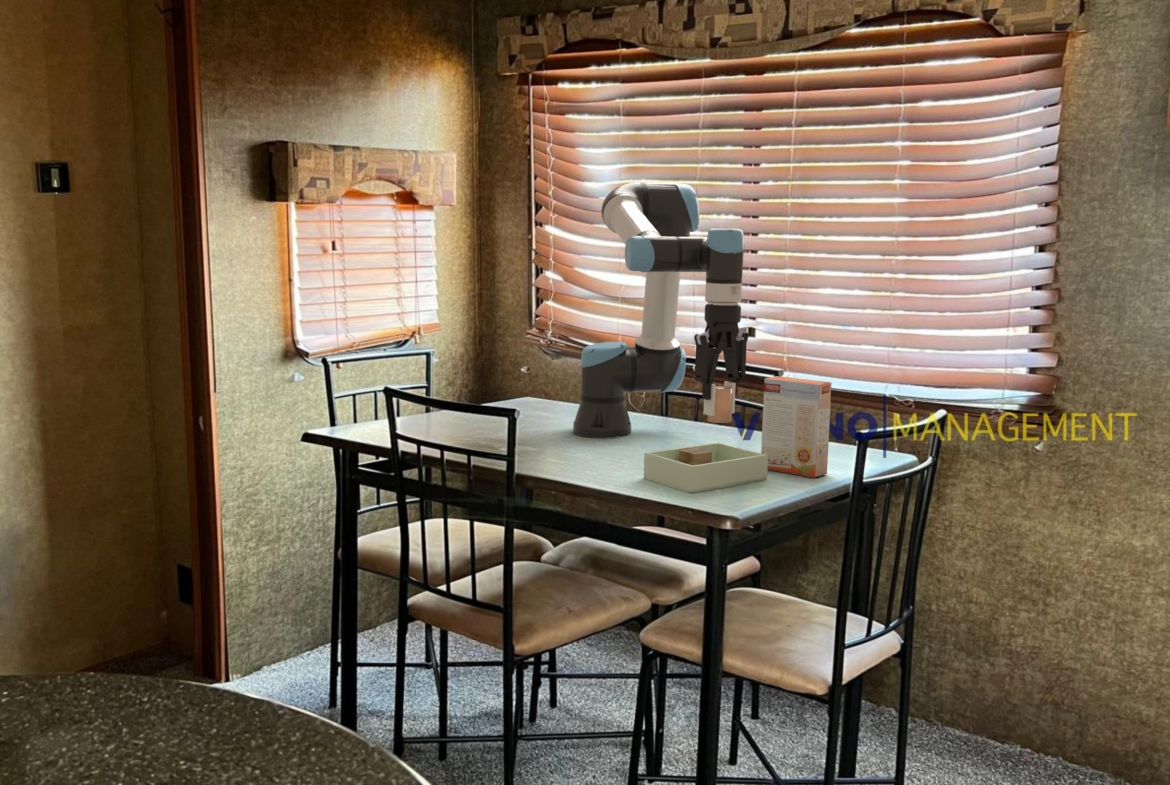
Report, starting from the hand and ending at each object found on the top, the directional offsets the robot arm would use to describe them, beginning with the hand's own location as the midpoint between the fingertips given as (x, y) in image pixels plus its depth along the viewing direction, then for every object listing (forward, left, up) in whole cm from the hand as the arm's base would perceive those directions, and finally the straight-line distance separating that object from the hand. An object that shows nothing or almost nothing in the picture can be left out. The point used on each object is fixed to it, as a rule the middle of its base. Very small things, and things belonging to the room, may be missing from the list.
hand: (718, 413), depth 237 cm
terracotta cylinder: (0, 0, -2) cm, 2 cm away
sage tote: (-4, 0, -15) cm, 15 cm away
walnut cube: (-7, 0, -14) cm, 16 cm away
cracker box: (+1, +22, -15) cm, 27 cm away
